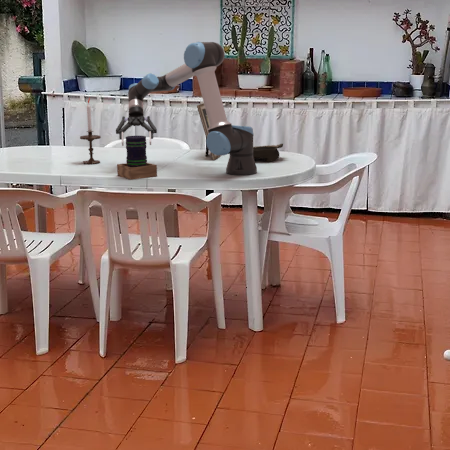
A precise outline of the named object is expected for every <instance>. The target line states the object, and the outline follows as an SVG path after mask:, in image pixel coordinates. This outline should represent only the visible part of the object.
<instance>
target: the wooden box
mask: <svg viewBox="0 0 450 450" xmlns="http://www.w3.org/2000/svg"><path fill="white" fill-rule="evenodd" d="M157 166H158V165H157V164H154V163H150V162H147V166H141V167H128V166H127V162H126V163H117V165H116V167H117V170H116V171H117V173H116V174H117V176H118V177H121V178H125V179H128V180H132V181H133V180H138V179H147V178H154V177H158V167H157Z"/></svg>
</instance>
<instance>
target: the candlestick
mask: <svg viewBox="0 0 450 450" xmlns="http://www.w3.org/2000/svg"><path fill="white" fill-rule="evenodd" d="M90 100H91V98H90V97H89V98H88V100H87V106H86V113H87V114H86V115H87V131H86V133H87V134H86V135H79V139H80V140H84V141H85V140H86V141H88V143H89V144H88V145H89V147H88V151H89V153H88V154H89V159H87V160H84V161H82V164H83V163H84V164H83V165H98V164H101V161H100V160H99V159H98V160H97V159H94V157H93V155H94V153H93V152H94V148H93V142H94V141H95V140H99V139H101V138H102V137H101V135H98V134H97V135H96V134H93V133H94V130H93V128H92V111H91V109H92V107H91V105H90Z"/></svg>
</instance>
